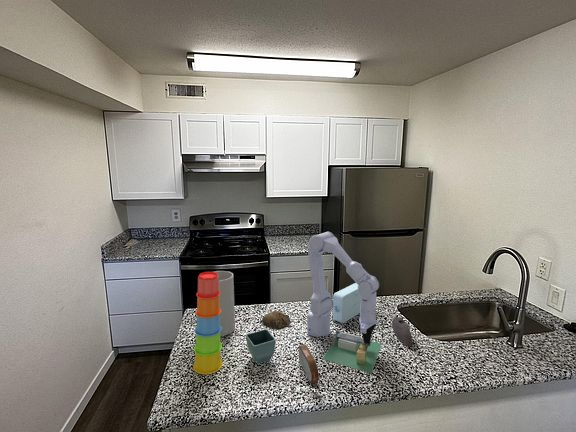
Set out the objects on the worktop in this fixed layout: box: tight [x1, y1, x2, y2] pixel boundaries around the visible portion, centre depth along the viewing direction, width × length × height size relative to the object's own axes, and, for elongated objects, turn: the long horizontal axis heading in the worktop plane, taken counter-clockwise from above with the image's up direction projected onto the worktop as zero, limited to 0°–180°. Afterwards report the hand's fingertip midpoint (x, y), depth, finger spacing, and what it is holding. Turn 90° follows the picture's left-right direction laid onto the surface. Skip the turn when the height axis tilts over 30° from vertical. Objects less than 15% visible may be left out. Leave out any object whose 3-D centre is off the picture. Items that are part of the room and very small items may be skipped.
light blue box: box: [332, 282, 361, 324], centre depth 149 cm, size 23×6×13 cm, turn 135°
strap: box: [333, 331, 373, 346], centre depth 121 cm, size 15×4×1 cm, turn 63°
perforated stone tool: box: [391, 316, 413, 348], centre depth 127 cm, size 15×5×7 cm, turn 179°
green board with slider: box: [322, 329, 383, 374], centre depth 118 cm, size 18×20×4 cm
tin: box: [297, 344, 320, 385], centre depth 106 cm, size 15×3×8 cm, turn 15°
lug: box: [356, 344, 368, 366], centre depth 113 cm, size 3×6×4 cm, turn 153°
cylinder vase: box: [214, 270, 236, 337], centre depth 134 cm, size 12×12×25 cm
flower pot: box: [245, 328, 277, 365], centre depth 115 cm, size 9×9×9 cm
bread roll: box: [261, 310, 291, 330], centre depth 143 cm, size 13×12×5 cm
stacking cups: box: [192, 271, 224, 375], centre depth 109 cm, size 10×10×35 cm
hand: (366, 341), depth 119 cm, fingers closed, pressing on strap
